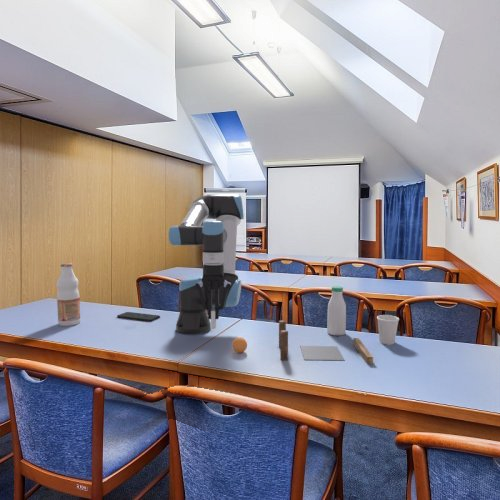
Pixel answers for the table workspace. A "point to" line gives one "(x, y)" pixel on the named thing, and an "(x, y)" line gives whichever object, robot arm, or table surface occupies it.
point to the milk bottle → (336, 313)
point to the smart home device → (138, 316)
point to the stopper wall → (363, 351)
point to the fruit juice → (68, 297)
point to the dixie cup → (387, 328)
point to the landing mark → (321, 353)
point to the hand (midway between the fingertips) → (213, 327)
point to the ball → (239, 345)
